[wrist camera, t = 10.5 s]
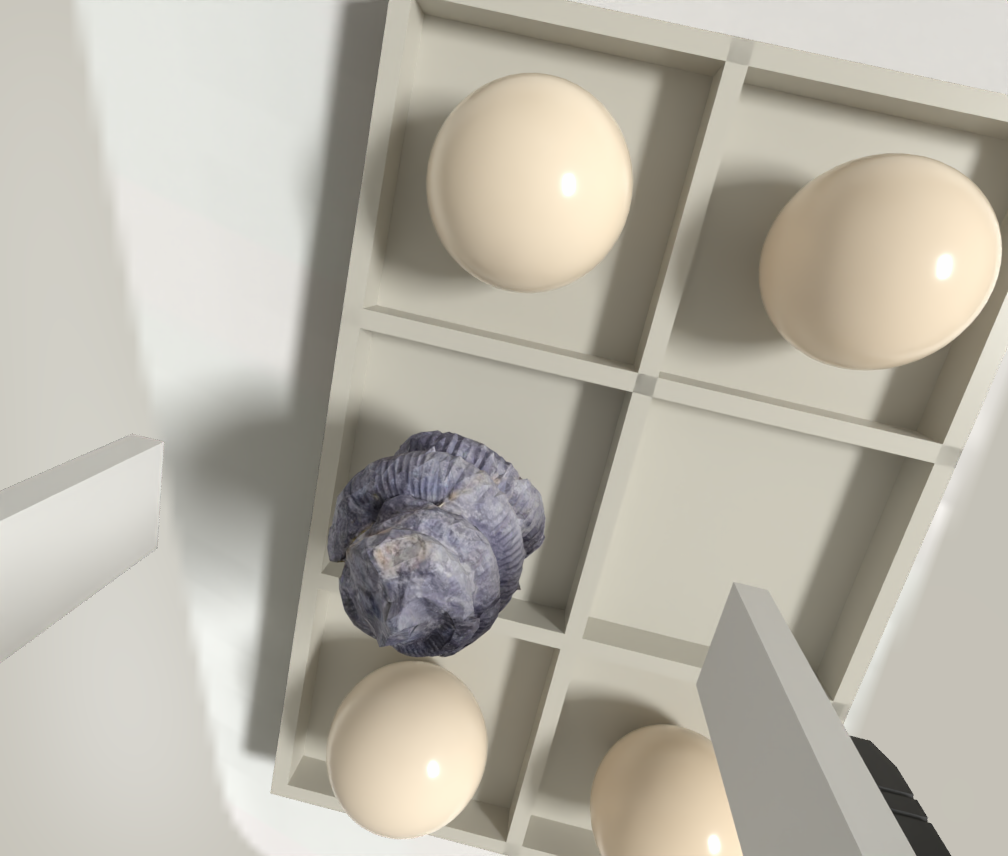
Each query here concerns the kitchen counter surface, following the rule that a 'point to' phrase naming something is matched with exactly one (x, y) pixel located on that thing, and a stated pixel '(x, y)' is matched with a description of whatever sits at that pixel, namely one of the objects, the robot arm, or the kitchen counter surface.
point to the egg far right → (662, 797)
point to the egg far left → (406, 750)
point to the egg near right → (880, 261)
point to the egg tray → (636, 395)
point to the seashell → (433, 543)
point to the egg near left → (529, 183)
